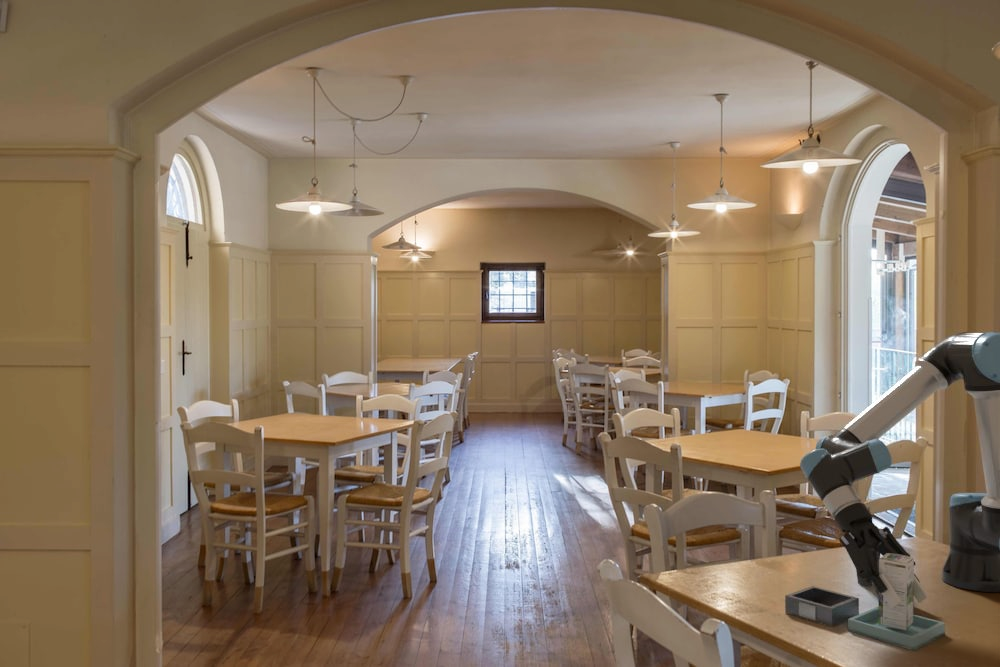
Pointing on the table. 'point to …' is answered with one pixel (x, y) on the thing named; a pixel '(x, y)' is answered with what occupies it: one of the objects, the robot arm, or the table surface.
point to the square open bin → (822, 605)
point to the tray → (897, 630)
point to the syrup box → (897, 591)
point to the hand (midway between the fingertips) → (910, 602)
